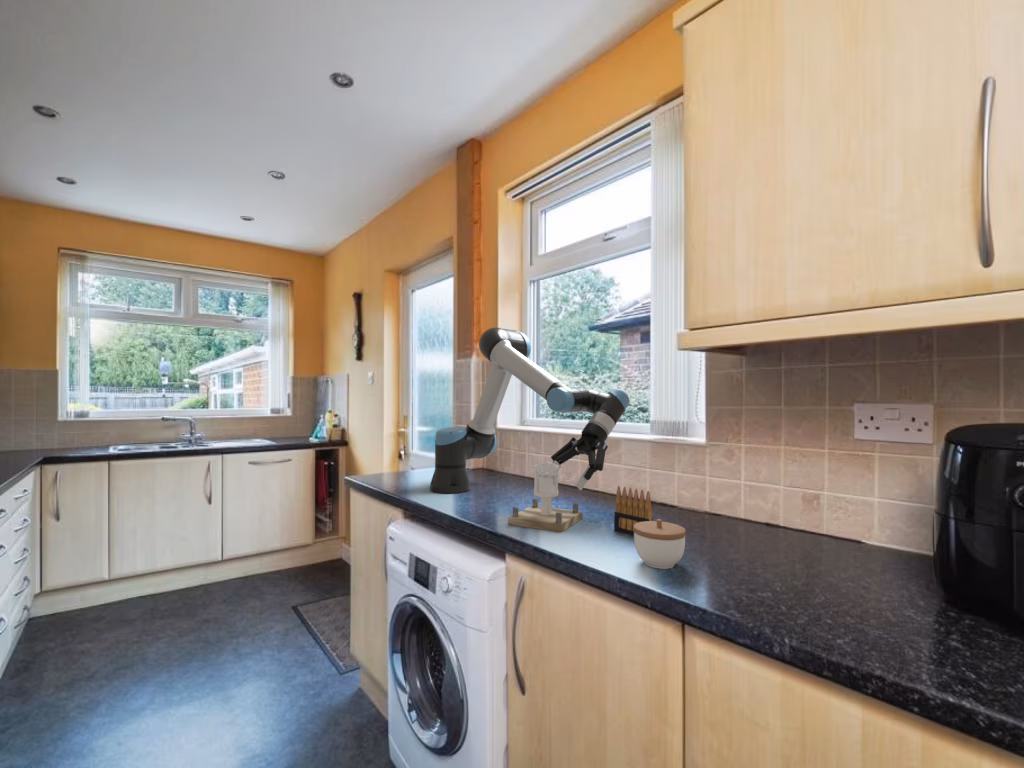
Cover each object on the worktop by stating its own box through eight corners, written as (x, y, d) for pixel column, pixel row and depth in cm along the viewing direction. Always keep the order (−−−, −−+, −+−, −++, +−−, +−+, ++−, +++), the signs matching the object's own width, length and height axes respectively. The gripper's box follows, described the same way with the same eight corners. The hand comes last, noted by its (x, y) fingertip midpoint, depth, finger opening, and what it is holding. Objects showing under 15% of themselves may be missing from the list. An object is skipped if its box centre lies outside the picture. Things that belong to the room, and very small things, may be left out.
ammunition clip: (653, 538, 119) (653, 490, 119) (649, 540, 118) (649, 491, 118) (617, 529, 127) (617, 484, 127) (613, 530, 126) (613, 485, 126)
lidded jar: (694, 564, 101) (694, 519, 101) (671, 577, 93) (671, 529, 94) (648, 552, 108) (648, 511, 109) (623, 563, 101) (623, 519, 101)
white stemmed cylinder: (540, 518, 130) (540, 463, 131) (529, 512, 137) (530, 460, 137) (562, 515, 133) (563, 462, 133) (551, 510, 140) (551, 459, 140)
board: (532, 511, 146) (532, 497, 146) (582, 518, 138) (582, 502, 138) (508, 524, 131) (508, 507, 132) (561, 532, 124) (561, 514, 124)
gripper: (635, 441, 139) (599, 498, 129) (576, 435, 159) (541, 484, 150) (622, 423, 136) (585, 481, 127) (564, 419, 156) (528, 469, 147)
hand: (561, 483), depth 138 cm, fingers open, 13 cm apart
